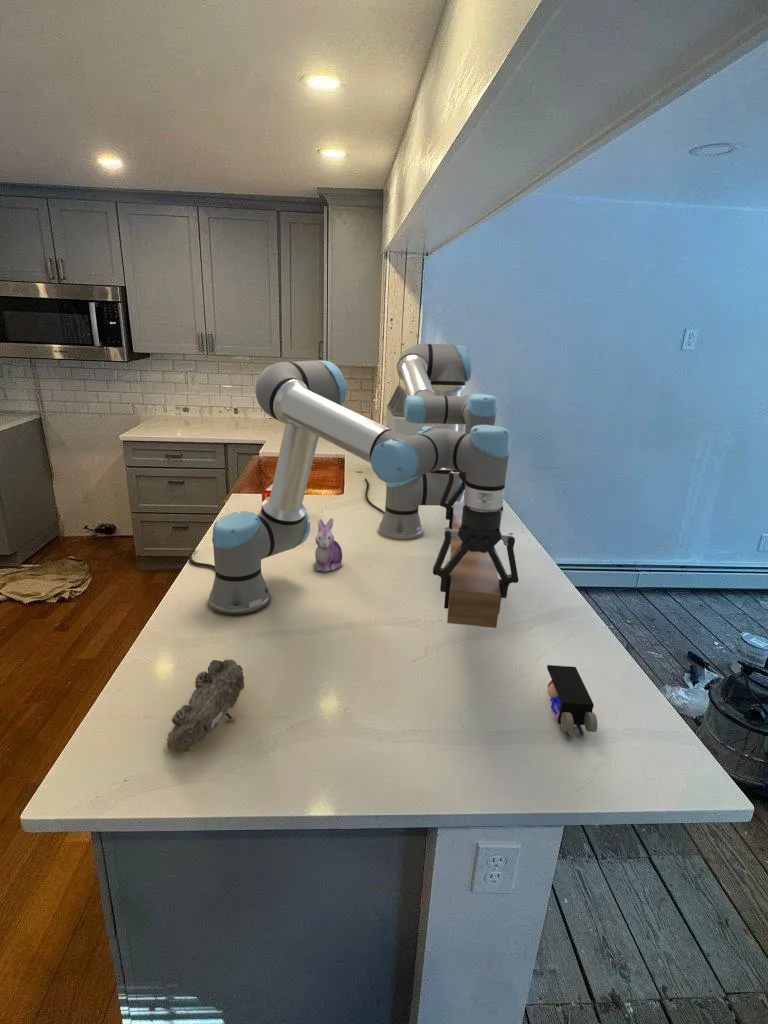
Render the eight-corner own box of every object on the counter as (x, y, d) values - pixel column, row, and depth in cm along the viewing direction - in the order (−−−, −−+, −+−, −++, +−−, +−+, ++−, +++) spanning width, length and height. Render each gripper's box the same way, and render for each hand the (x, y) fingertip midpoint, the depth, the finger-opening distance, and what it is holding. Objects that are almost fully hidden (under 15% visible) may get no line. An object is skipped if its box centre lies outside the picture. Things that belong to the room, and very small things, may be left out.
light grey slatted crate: (382, 463, 289) (386, 382, 275) (445, 464, 293) (451, 384, 279) (390, 482, 257) (394, 392, 243) (460, 483, 261) (468, 394, 247)
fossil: (192, 660, 117) (244, 628, 112) (224, 691, 120) (276, 661, 115) (142, 746, 98) (202, 712, 93) (182, 779, 101) (242, 748, 96)
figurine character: (595, 749, 106) (570, 690, 120) (603, 719, 103) (577, 662, 116) (559, 748, 106) (538, 690, 119) (567, 718, 103) (545, 662, 116)
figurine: (319, 575, 166) (320, 527, 161) (307, 561, 175) (307, 516, 170) (349, 569, 170) (350, 523, 165) (336, 556, 179) (336, 512, 174)
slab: (451, 525, 164) (453, 501, 162) (485, 528, 163) (487, 503, 161) (447, 623, 113) (450, 589, 110) (496, 628, 112) (500, 594, 109)
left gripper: (423, 507, 108) (416, 611, 115) (544, 518, 105) (528, 623, 113) (426, 495, 115) (418, 593, 122) (539, 505, 112) (524, 604, 120)
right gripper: (433, 454, 148) (427, 533, 156) (521, 461, 145) (510, 541, 153) (435, 447, 155) (429, 523, 162) (518, 453, 152) (508, 530, 160)
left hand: (471, 607), depth 117 cm, fingers closed on slab, 10 cm apart
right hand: (468, 532), depth 158 cm, fingers closed on slab, 10 cm apart
